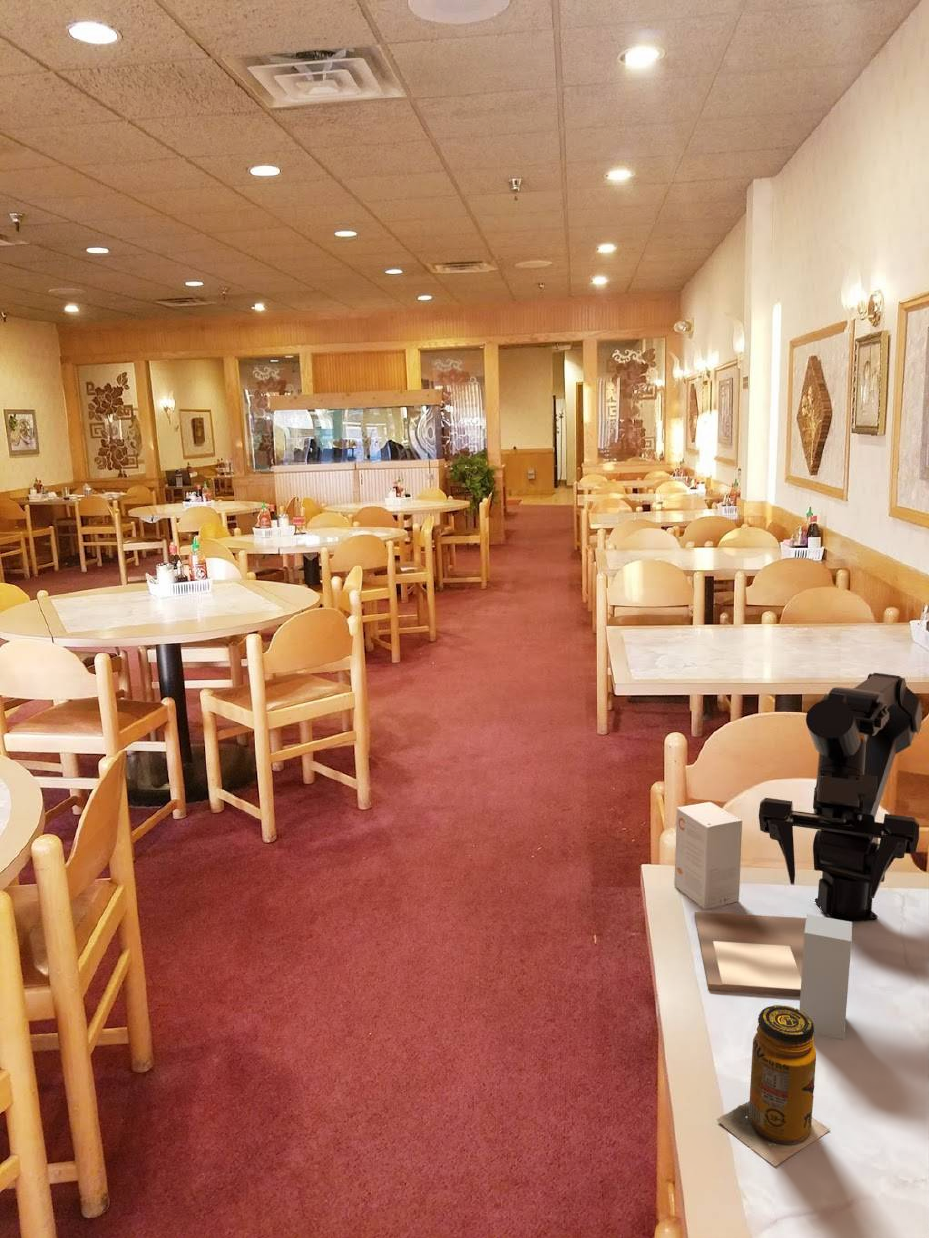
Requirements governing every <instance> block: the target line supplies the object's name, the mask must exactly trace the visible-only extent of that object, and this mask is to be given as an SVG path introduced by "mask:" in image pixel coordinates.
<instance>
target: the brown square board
mask: <svg viewBox="0 0 929 1238" xmlns="http://www.w3.org/2000/svg"><path fill="white" fill-rule="evenodd" d="M694 922H695V928H696V931H697V937H698V943H699V949H700V955H701V958H702V964H703V965H702V966H703V969H704V974H705V979H706V985H707V990H708V991H709V990H710V991H720V992H721V991H722V992H735V993H750V994H751V993H752V994H767V995H778V996H779V995H783V996H795V997H796V996H797V997H800V994H801V978H802V962H803V947H804V932H805V924H806V917H794V916H793V917H791V916H776V915H775V916H774V915H762V914H761V915H758V914H757V915H756V914H742V913H741V914H740V913H727V912H726V913H724V912H723V913H721V912H706V911H705V912H704V911H703V912H702V911H694Z"/></svg>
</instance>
